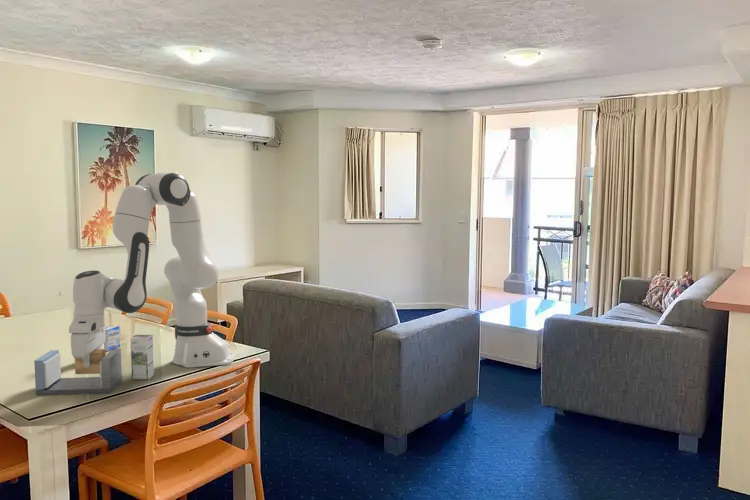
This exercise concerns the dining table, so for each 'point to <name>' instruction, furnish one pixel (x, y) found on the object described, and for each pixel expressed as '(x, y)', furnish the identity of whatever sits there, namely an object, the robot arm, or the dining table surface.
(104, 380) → the vise
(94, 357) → the wooden block
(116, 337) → the medicine box
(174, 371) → the dining table surface
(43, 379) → the vise jaw
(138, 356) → the syrup box
